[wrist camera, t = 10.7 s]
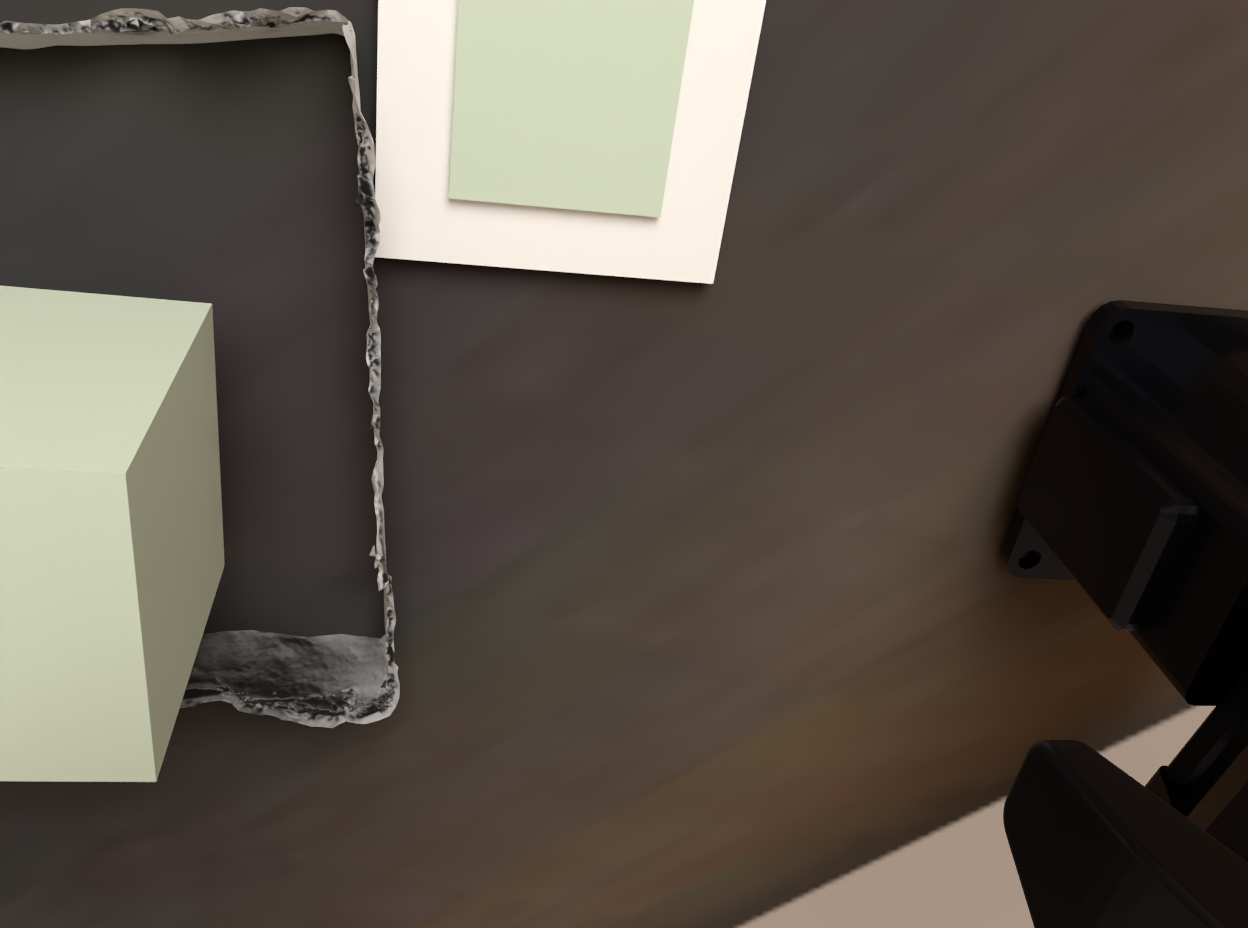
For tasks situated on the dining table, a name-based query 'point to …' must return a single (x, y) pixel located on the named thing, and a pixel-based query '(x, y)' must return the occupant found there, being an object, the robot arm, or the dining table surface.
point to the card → (561, 132)
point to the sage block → (103, 528)
